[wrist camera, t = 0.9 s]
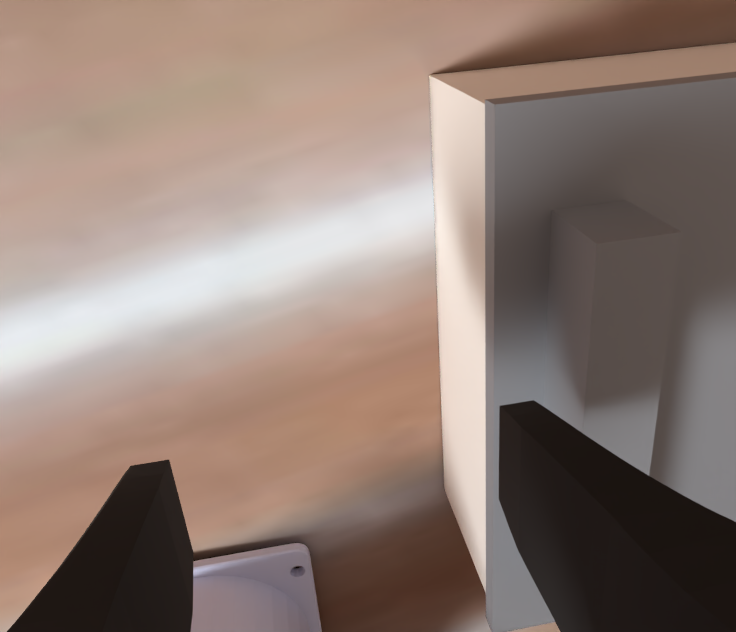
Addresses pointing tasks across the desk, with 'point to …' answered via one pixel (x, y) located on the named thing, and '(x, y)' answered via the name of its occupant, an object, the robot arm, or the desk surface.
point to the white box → (467, 238)
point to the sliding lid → (612, 289)
